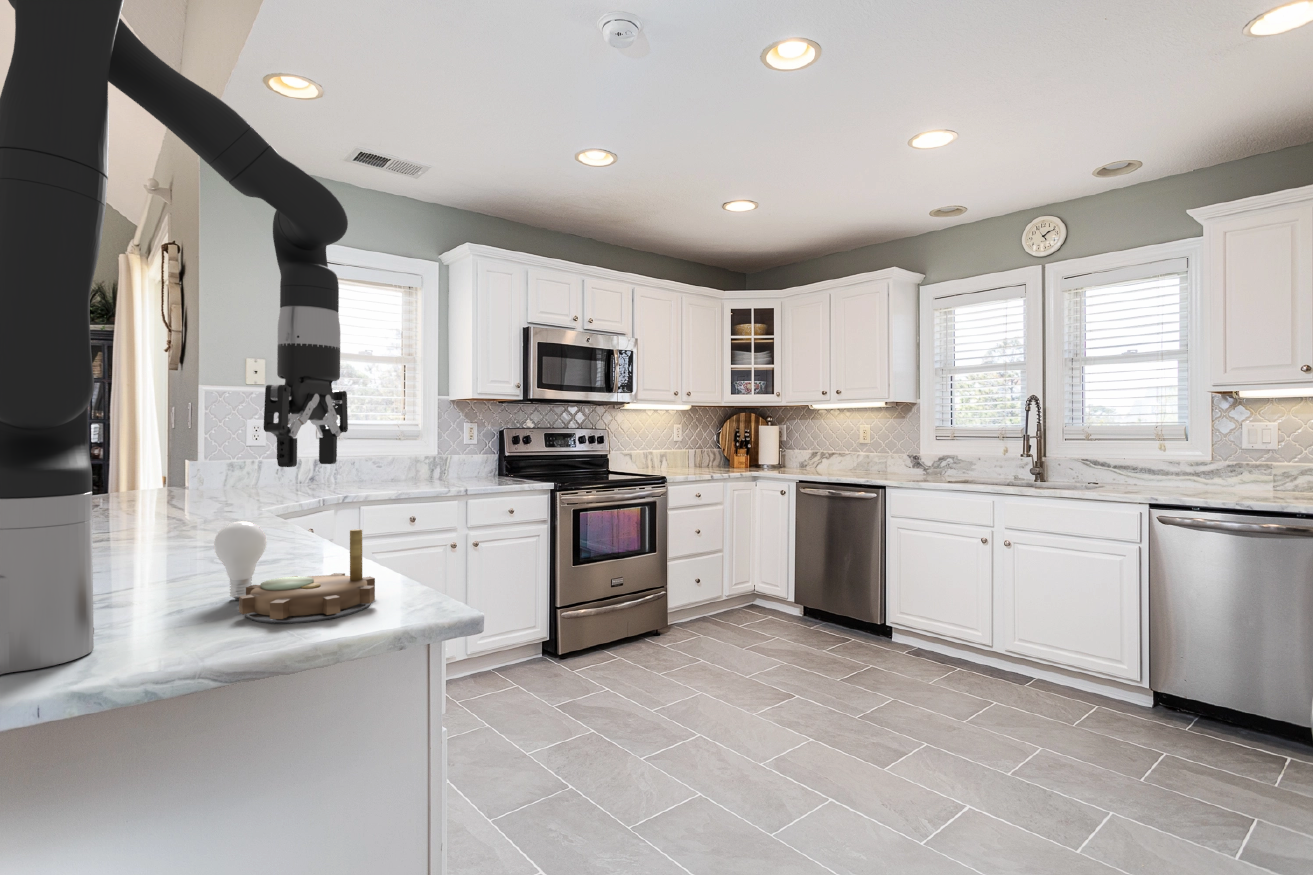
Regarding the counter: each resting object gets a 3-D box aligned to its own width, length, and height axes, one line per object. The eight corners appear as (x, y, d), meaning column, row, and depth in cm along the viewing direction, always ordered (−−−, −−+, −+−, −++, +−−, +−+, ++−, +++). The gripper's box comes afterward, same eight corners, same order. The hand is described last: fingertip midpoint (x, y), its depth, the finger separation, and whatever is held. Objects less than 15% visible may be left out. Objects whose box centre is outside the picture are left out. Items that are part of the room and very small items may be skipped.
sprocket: (397, 602, 92) (397, 535, 92) (260, 627, 81) (259, 551, 81) (350, 581, 104) (350, 522, 104) (223, 600, 92) (223, 534, 92)
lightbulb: (225, 607, 92) (225, 525, 92) (206, 599, 96) (206, 521, 96) (275, 598, 97) (274, 520, 97) (255, 591, 101) (254, 516, 101)
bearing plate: (297, 629, 82) (297, 625, 82) (220, 613, 89) (220, 610, 89) (395, 601, 96) (395, 597, 96) (321, 589, 102) (321, 585, 102)
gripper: (301, 337, 84) (299, 469, 85) (365, 350, 99) (364, 463, 99) (245, 337, 85) (244, 467, 86) (316, 350, 100) (315, 462, 100)
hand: (308, 465), depth 92 cm, fingers open, 8 cm apart
